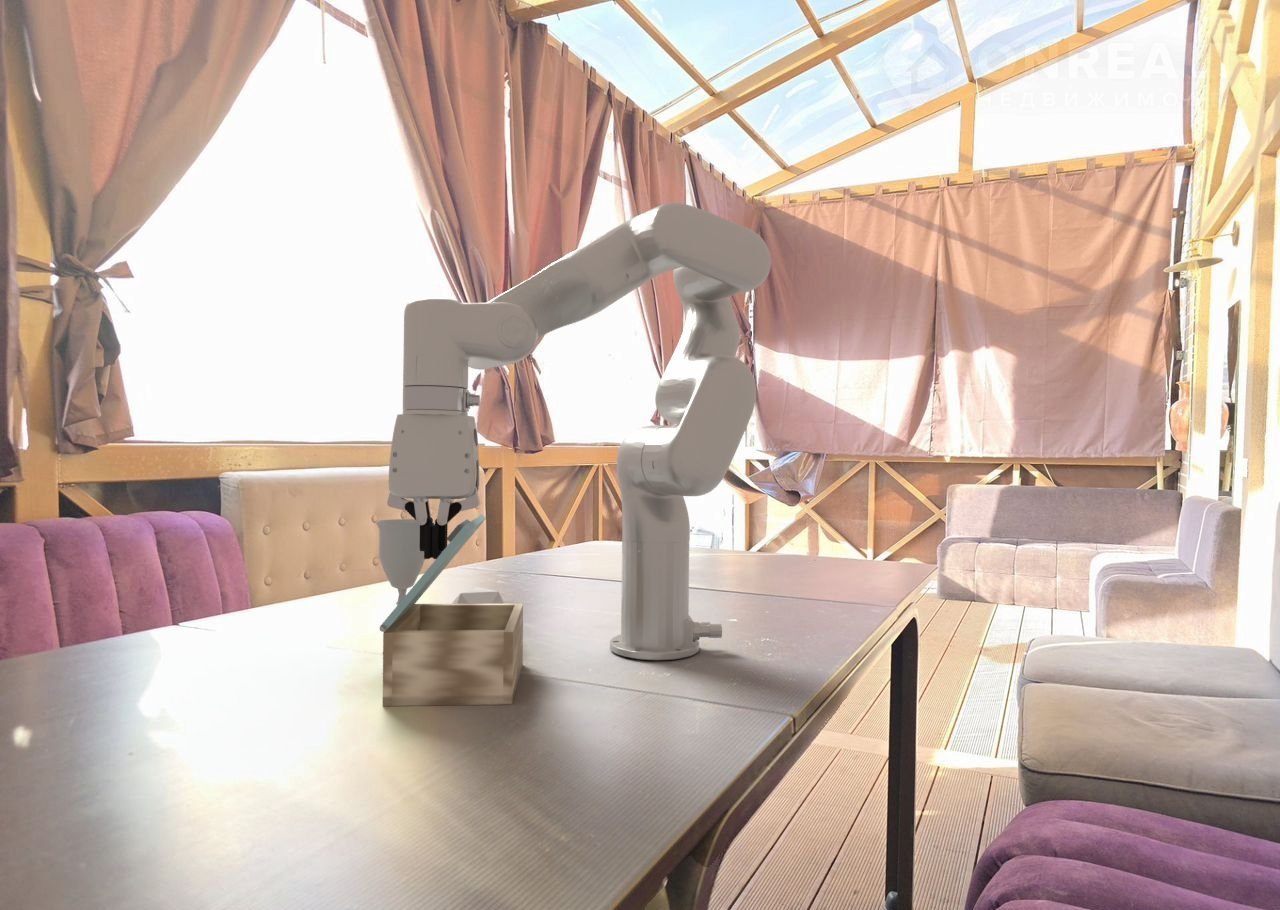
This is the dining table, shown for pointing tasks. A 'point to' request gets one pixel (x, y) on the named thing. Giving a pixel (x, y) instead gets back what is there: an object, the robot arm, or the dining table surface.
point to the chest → (453, 655)
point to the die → (479, 597)
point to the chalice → (400, 552)
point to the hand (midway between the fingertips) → (433, 557)
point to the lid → (435, 568)
